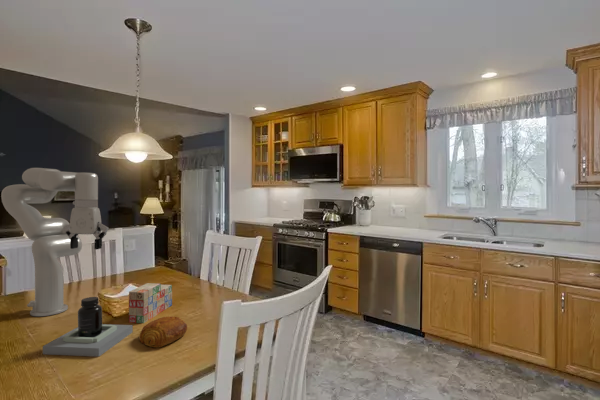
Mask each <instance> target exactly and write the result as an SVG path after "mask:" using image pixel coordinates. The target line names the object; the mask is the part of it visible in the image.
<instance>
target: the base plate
mask: <svg viewBox="0 0 600 400" xmlns="http://www.w3.org/2000/svg"><path fill="white" fill-rule="evenodd" d="M133 329H134V328H133V324H111V323H109V324H106V323H104V324H103V323H102V332H101V334H99V335H98V336H95V337H79V336H78V326H77V327H75V328H73V329H72V330H70V331H68V332H66V333H64V334H63V335H61V336H59V337H56V338H55V339H54V340H52V341H50V342H48V343H46V344H44V345H43V346H42V355H51V356H52V355H53V356H77V357H79V356H80V357H100V356H102V355H103V354H105V353H106V352H107V351H109V350H110V349H112V348H113V347H114V346H116V345H117V344H119V343H120V342H121V341H123V339H126V338H127V337H128V336H129V335H131V334H133Z"/></svg>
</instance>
